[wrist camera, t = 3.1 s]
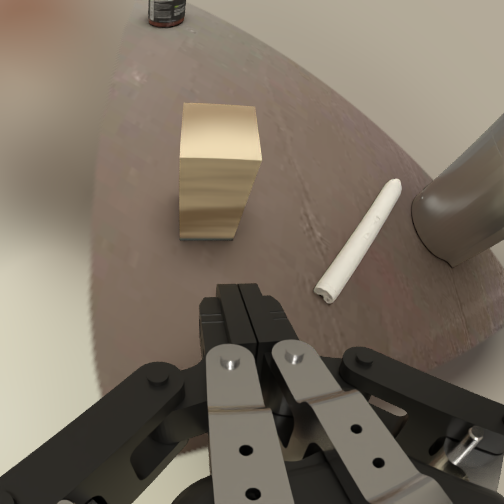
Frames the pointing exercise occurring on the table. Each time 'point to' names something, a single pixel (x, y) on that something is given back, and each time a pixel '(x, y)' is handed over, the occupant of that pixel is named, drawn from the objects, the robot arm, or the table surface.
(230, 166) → the beech block
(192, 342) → the table surface
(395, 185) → the marker
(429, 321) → the table surface
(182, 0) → the supplement bottle
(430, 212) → the robot arm
